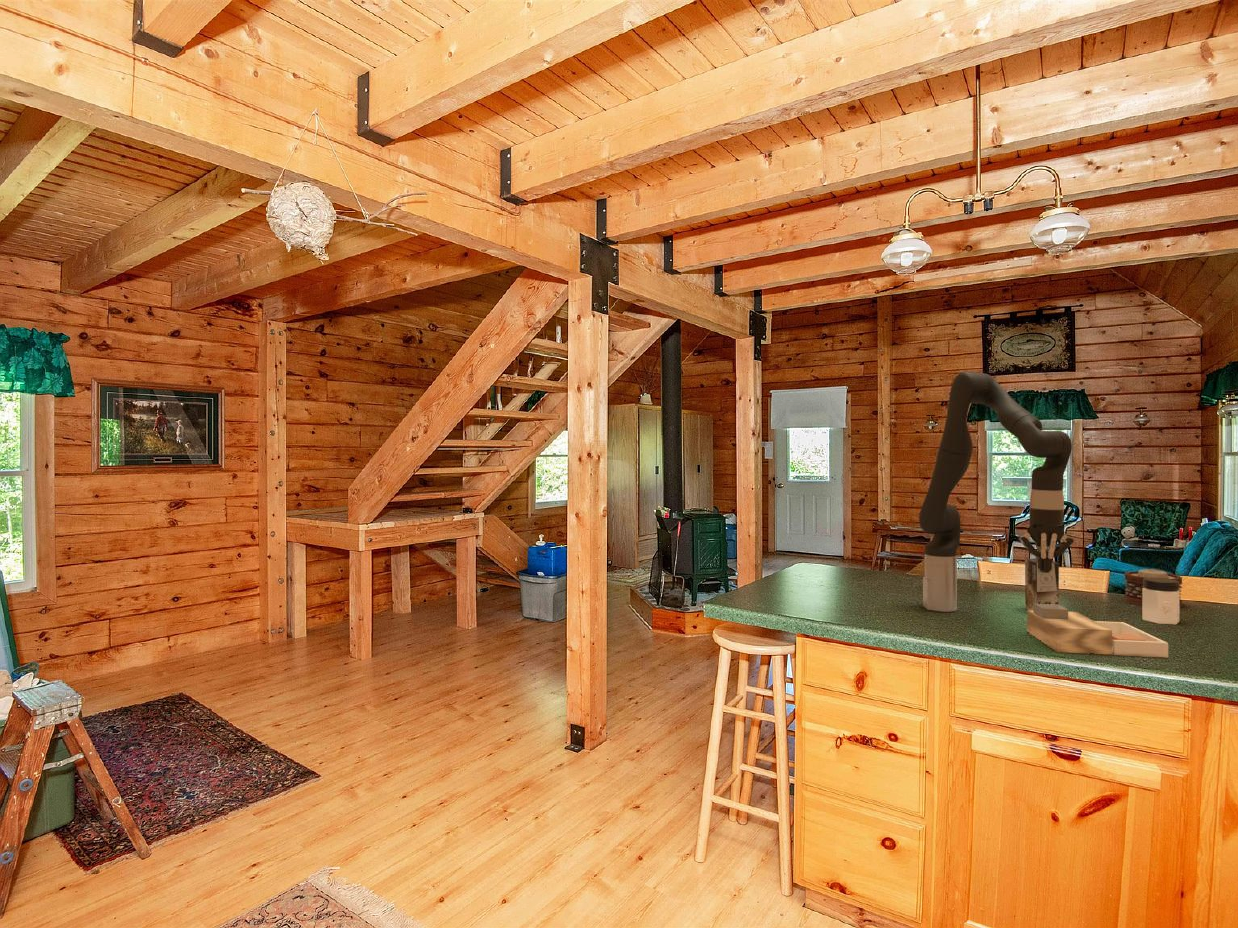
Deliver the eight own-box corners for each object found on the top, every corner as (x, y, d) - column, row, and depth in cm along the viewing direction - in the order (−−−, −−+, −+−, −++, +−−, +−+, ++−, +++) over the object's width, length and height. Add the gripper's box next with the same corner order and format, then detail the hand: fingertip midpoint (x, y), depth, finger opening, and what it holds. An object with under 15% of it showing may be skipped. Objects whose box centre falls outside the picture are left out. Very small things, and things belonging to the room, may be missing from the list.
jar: (1148, 623, 191) (1148, 581, 191) (1136, 616, 199) (1136, 576, 199) (1186, 625, 189) (1186, 583, 188) (1172, 618, 196) (1172, 578, 196)
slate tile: (1042, 618, 175) (1042, 608, 175) (1033, 612, 181) (1033, 603, 181) (1068, 619, 174) (1068, 609, 174) (1058, 613, 180) (1058, 604, 180)
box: (1114, 655, 162) (1114, 640, 162) (1076, 633, 182) (1076, 620, 182) (1168, 657, 160) (1168, 643, 160) (1123, 635, 180) (1123, 622, 179)
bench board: (1057, 651, 165) (1057, 627, 165) (1027, 631, 184) (1027, 610, 184) (1112, 654, 163) (1112, 629, 163) (1075, 633, 181) (1075, 611, 181)
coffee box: (1059, 616, 201) (1059, 562, 200) (1036, 615, 202) (1036, 562, 202) (1047, 609, 210) (1046, 558, 209) (1024, 608, 211) (1024, 557, 211)
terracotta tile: (1145, 639, 165) (1145, 649, 165) (1130, 633, 170) (1130, 642, 171) (1118, 638, 165) (1118, 648, 166) (1104, 632, 171) (1104, 642, 171)
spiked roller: (1113, 566, 224) (1164, 567, 221) (1113, 598, 224) (1164, 599, 221) (1140, 574, 209) (1194, 575, 207) (1139, 608, 209) (1194, 610, 207)
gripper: (1024, 507, 172) (1022, 574, 173) (1081, 509, 170) (1079, 576, 171) (1013, 504, 180) (1011, 568, 181) (1067, 505, 177) (1065, 570, 178)
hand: (1044, 572), depth 176 cm, fingers closed
